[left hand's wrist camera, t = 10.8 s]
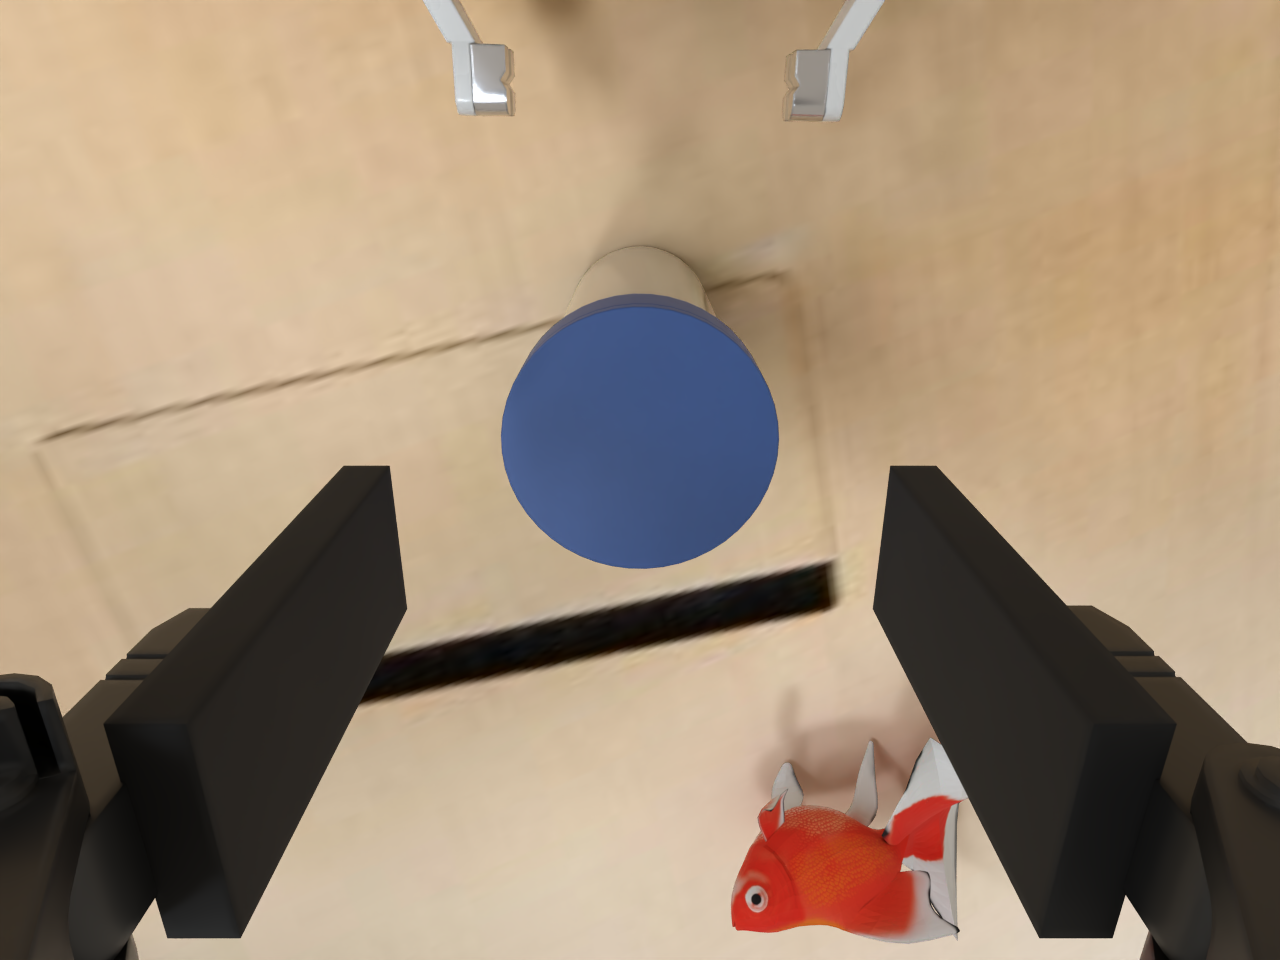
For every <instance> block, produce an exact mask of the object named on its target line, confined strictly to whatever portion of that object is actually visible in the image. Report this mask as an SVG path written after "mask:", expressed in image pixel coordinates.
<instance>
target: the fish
mask: <svg viewBox="0 0 1280 960" xmlns="http://www.w3.org/2000/svg"><path fill="white" fill-rule="evenodd" d="M771 797H772V800H771V801H770V802H769V803H768V804H767V805H766V806H765V807H764V808H763V809H762V810H761V812H760V814H759V816H758V823H759V827H760V829H761V832H760V833H759V834H758V836H757V837H756V839H755V841H754V843H753V844H752V845H751V847H750V848H749V851H748V853H747V855H746V858H745V860H744V862H743V865H742V867H741V869H740V871H739V874H738V876H737V879H736V881H735V885H734V888H733V892H732V899H731V915H732V926H733V927H736V930H747V931H755V932H767V933H770V932H779V931H783V930H787V929H791V928H794V927H799V926H808V925H828V926H833V927H837V928H839V929H841V930H845V931H847V932H850V933H853V934H856V935H859V936H863V937H866V938H870V939H875V940H879V941H884V942H891V943H906V944H910V943H916V942H922V941H929V940H933V939H937V938H941V937H945V936H949V935H954V937H955V938H956V939H957V941H958V936H957V933H958V932H959V931H960V930H959V929H958V927H957V892H956V853H957V816H958V806H959V802H961V801H963V800H965V799H967V798H968V796H967V794H966V792H965V790H964V788H963V786H962V784H961V782H960V780H959V778H958V776H957V774H956V772H955V770H954V768H953V766H952V764H951V762H950V760H949V758H948V756H947V754H946V752H945V750H944V749H943V747H942V745H941V744H939V743H938V742H936V741H935V740H933V739H932V738H930V739H929V740H928V742H927V743H926V745H925V747H924V748H923V750H922V752H921V753H920V755H919V756H918V758H917V760H916V762H915V765H914V768H913V771H912V774H911V776H910V779H909V782H908V785H907V788H906V790H905V792H904V794H903V796H902V798H901V799H900V801H899V803H898V805H897V807H896V809H895V810H894V812H893V814H892V816H891V818H890V820H889V822H888V824H887V826H886V828H885V829H881V830H876V829H871V828H869V827H868V826H869V824H870V823H871V822H872V821H873V819H874V818H875V816H876V812H877V808H878V799H877V788H876V779H875V767H874V745H873V742H872V741H869V743H868V746H867V750H866V753H865V756H864V758H863V761H862V764H861V767H860V771H859V774H858V779H857V784H856V789H855V794H854V798H853V802H852V804H851V806H850V808H849V810H848V811H847V813H846V814H844V813H841V812H839V811H837V810H834V809H830V808H827V807H821V806H810V805H808V806H800V805H801V803H802V801H803V791H802V789H801V787H800V785H799V783H798V781H797V779H796V776H795V774H794V771H793V768H792V765H791V764H790V763H784V764H783V765H782V767H781V768H780V770H779V773H778V775H777V777H776V779H775V782H774V785H773V788H772V795H771ZM902 863H903V864H904V865H905V866H907V867H908V868H910V869H911V870H913V871H905V872H900V870H901V865H902ZM931 903H932V905H933V907H934V908H935V910H936V911H937V913H938V914H939V915H940V916H939V915H938V914H937V913H936V912H935V911H934V909H933V907H932V906H931Z"/></svg>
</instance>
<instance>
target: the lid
mask: <svg viewBox="0 0 1280 960" xmlns="http://www.w3.org/2000/svg"><path fill="white" fill-rule="evenodd" d="M501 443H502V455H503V460H504V466H505V470H506V473H507V476H508V479H509V482H510V485H511V487H512V489H513V491H514V493H515V495H516V497H517V499H518V501H519V502H520V504H521V505H522V507H523V508H524V510H525V511H526V513H527V514H528V515H529V517H530V518H531V519H532V520H533V521H534V522H535V524H536V525H537V526H538V527H539V528H540V529H541V530H542V531H544V532H545V533H546V534H547V535H548V536H549V537H550V538H551V539H553V540H554V541H556V542H557V543H559V544H560V545H562V546H563V547H564V548H566V549H568V550H570V551H572V552H574V553H576V554H577V555H579V556H582V557H584V558H587V559H590V560H592V561H595V562H598V563H602V564H606V565H610V566H615V567H623V568H638V569H647V568H657V567H665V566H670V565H674V564H679V563H682V562H685V561H688V560H691V559H693V558H696V557H698V556H700V555H702V554H704V553H706V552H709V551H711V550H712V549H714V548H715V547H717V546H718V545H720V544H721V543H723V542H725V541H726V540H727V539H728V538H730V537H731V536H732V535H733V534H734V533H735V532H737V531H738V530H739V529H740V528H741V527H742V526H743V525H744V523H745V522H746V521H747V520H748V519H749V518H750V517H751V515H752V514H753V513H754V511H755V510H756V508H757V507H758V506H759V504H760V503H761V501H762V499H763V497H764V495H765V493H766V491H767V489H768V487H769V484H770V482H771V479H772V476H773V474H774V470H775V465H776V461H777V456H778V445H779V431H778V420H777V414H776V409H775V405H774V402H773V399H772V396H771V393H770V390H769V388H768V386H767V384H766V382H765V380H764V378H763V376H762V374H761V372H760V370H759V368H758V366H757V365H756V363H755V361H754V359H753V357H752V355H751V354H750V352H749V351H748V349H747V348H746V347H745V345H744V344H743V342H742V341H741V340H740V339H739V338H738V337H737V336H736V334H735V333H734V332H733V331H732V330H731V329H730V328H729V327H727V326H726V325H725V324H724V323H723V322H721V321H720V320H719V319H718V318H716V317H715V316H713V315H712V314H710V313H708V312H707V311H705V310H703V309H702V308H699V307H697V306H695V305H693V304H690V303H688V302H686V301H682V300H679V299H676V298H672V297H669V296H662V295H655V294H625V295H617V296H612V297H608V298H604V299H600V300H597V301H595V302H592V303H590V304H587V305H585V306H582V307H581V308H579V309H577V310H575V311H573V312H572V313H570V314H568V315H567V316H565V317H564V318H563V319H561V320H560V321H559V322H557V323H556V324H555V325H553V326H552V327H551V328H550V329H549V330H548V331H547V332H546V333H545V334H544V335H543V336H542V337H541V339H540V340H539V341H538V343H537V344H536V345H535V347H534V348H533V349H532V351H531V352H530V354H529V356H528V358H527V359H526V361H525V363H524V365H523V367H522V368H521V370H520V372H519V374H518V376H517V378H516V380H515V381H514V383H513V386H512V388H511V391H510V393H509V396H508V398H507V401H506V406H505V410H504V414H503V420H502V431H501Z"/></svg>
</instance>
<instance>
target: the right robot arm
mask: <svg viewBox="0 0 1280 960" xmlns="http://www.w3.org/2000/svg"><path fill="white" fill-rule="evenodd" d="M884 1H885V0H846V1H845V2H844V4H843V6H842V8H841V9H840V11H839V13H838V14H837V16H836V18H835V19H834V21H833V23H832V24H831V26H830V28H829V29H828V31H827V33H826V35H825V36H824V38H823V40H822V41H821V43H820V45H819V46H818V48H817V50H796V51H794V52H793V54H789V55H788V56H786V67H785V80H784V81H785V83H786V85H787V87H788V88H789V90H788V92H787V93H786V95H785V96H784V97H783V108H782V112H783V121H797V122H837V121H840V118H841V115H842V111H843V107H844V99H845V89H846V79H847V69H848V59H849V52H850V51H852V50H854V49H855V47H856V46H857V44H858V42H859V41H860V39H861V38H862V36H863V34H864V33H865V31H866V30H867V28H868V27H869V25H870V23H871V22H872V20H873V19H874V17H875V15H876V14H877V12H878V11H879V9H880V7H881V6H882V4H883V3H884ZM423 2H424V3H425V5H426V7H427V8H428V10H429V12H430V14H431V15H432V17H433V19H434V21H435V22H436V24H437V26H438V28H439V29H440V31H441V33H442V35H443V36H444V38H445V40H446V41H447V43H449V44H451V45H452V57H453V72H454V88H455V102H456V106H457V110H458V113H459V115H464V116H515V110H516V101H515V92H514V90H513V89H512V87H511V86H510V83H511V82H512V80H513V78H514V76H515V73H514V52H513V51H512V50H511V49H508V47H507V46H506V45H500V44H483V42H482V41H481V39H480V37H479V35H478V33H477V31H476V30H475V28H474V26H473V24H472V22H471V20H470V18H469V17H468V15H467V13H466V11H465V9H464V7H463V6H462V4H461V2H460V0H423Z"/></svg>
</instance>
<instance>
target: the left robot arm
mask: <svg viewBox="0 0 1280 960" xmlns="http://www.w3.org/2000/svg"><path fill="white" fill-rule="evenodd" d="M406 610H407V604H406V596H405V588H404V579H403V571H402V563H401V555H400V547H399V539H398V530H397V522H396V514H395V506H394V498H393V490H392V481H391V473H390V466H343V467H342V468H341V469H340V470H339V472H338V473H337V474H336V475H335V476H334V477H333V478H332V479H331V480H330V481H329V482H328V483H327V484H326V485H325V487H324V488H323V489H322V490H321V491H320V492H319V493H318V494H317V495H316V496H315V497H314V498H313V499H312V500H311V502H310V503H309V504H308V505H307V506H306V507H305V508H304V509H303V510H302V511H301V512H300V513H299V514H298V515H297V517H296V518H295V519H294V520H293V521H292V522H291V523H290V524H289V525H288V526H287V527H286V528H285V529H284V530H283V532H282V533H281V534H280V535H279V536H278V537H277V538H276V539H275V540H274V541H273V542H272V543H271V544H270V545H269V547H268V548H267V549H266V550H265V551H264V552H263V553H262V554H261V555H260V556H259V557H258V558H257V559H256V560H255V562H254V563H253V564H252V565H251V566H250V567H249V568H248V569H247V570H246V571H245V572H244V573H243V574H242V575H241V577H240V578H239V579H238V580H237V581H236V582H235V583H234V584H233V585H232V586H231V587H230V588H229V589H228V590H227V591H226V593H225V594H224V595H223V596H222V597H221V598H220V599H219V600H218V601H217V602H216V603H215V604H214V605H213V606H212V608H189V609H187V610H185V611H183V612H182V613H180V614H178V615H176V616H175V617H173V618H171V619H169V620H168V621H166V622H164V623H162V624H161V625H159V626H157V627H155V628H154V629H152V630H151V631H150V632H149V633H148V634H147V635H146V636H145V637H144V638H143V639H142V640H141V641H140V642H139V643H138V644H137V645H136V646H135V647H134V648H133V649H132V650H131V651H130V652H129V653H127V658H126V659H121V660H120V661H119V662H118V663H117V664H116V665H115V666H114V667H113V668H112V669H111V670H110V671H109V672H108V673H107V674H106V679H105V680H100V681H99V682H98V683H97V684H96V685H95V686H94V687H93V688H92V689H91V690H90V691H89V692H88V693H87V694H86V695H85V696H84V697H83V698H82V699H81V700H80V701H79V702H78V703H77V704H76V705H75V706H74V707H73V708H72V709H71V710H70V711H69V712H68V713H67V714H66V715H65V716H64V717H63V718H62V715H61V712H60V709H59V706H58V703H57V699H56V696H55V693H54V690H53V687H52V684H50V683H48V682H47V681H45V680H44V679H42V678H41V677H39V676H34V675H25V674H16V673H14V674H5V675H0V960H139V959H138V953H137V948H136V945H135V941H134V938H133V935H132V933H133V931H134V930H135V928H136V926H137V925H138V923H139V922H140V920H141V919H142V917H143V916H144V914H145V913H146V911H147V909H148V908H149V906H150V905H151V903H152V902H153V900H154V899H155V898H156V902H157V905H158V908H159V912H160V915H161V918H162V922H163V925H164V928H165V931H166V935H167V938H241V936H242V934H243V932H244V930H245V928H246V926H247V924H248V922H249V921H250V919H251V917H252V915H253V913H254V911H255V909H256V907H257V905H258V903H259V901H260V899H261V897H262V895H263V893H264V891H265V889H266V887H267V885H268V883H269V881H270V879H271V877H272V875H273V873H274V871H275V869H276V867H277V865H278V863H279V861H280V859H281V857H282V855H283V853H284V851H285V849H286V847H287V845H288V843H289V841H290V839H291V837H292V835H293V834H294V832H295V830H296V828H297V826H298V824H299V822H300V820H301V818H302V816H303V814H304V812H305V810H306V808H307V806H308V804H309V802H310V800H311V798H312V796H313V794H314V792H315V790H316V788H317V786H318V784H319V782H320V780H321V778H322V776H323V774H324V772H325V770H326V768H327V766H328V764H329V762H330V760H331V758H332V756H333V754H334V752H335V750H336V749H337V747H338V745H339V743H340V741H341V739H342V737H343V735H344V733H345V731H346V729H347V727H348V725H349V723H350V721H351V719H352V717H353V715H354V713H355V711H356V709H357V707H358V705H359V703H360V701H361V699H362V697H363V695H364V693H365V691H366V689H367V687H368V685H369V683H370V681H371V679H372V677H373V675H374V673H375V671H376V669H377V667H378V665H379V664H380V662H381V660H382V658H383V656H384V654H385V652H386V650H387V648H388V646H389V644H390V642H391V640H392V638H393V636H394V634H395V632H396V630H397V628H398V626H399V624H400V622H401V620H402V618H403V616H404V614H405V612H406ZM873 610H874V612H875V614H876V616H877V618H878V620H879V622H880V624H881V626H882V628H883V630H884V632H885V634H886V636H887V638H888V640H889V642H890V644H891V646H892V648H893V650H894V652H895V654H896V656H897V658H898V660H899V662H900V664H901V665H902V667H903V669H904V671H905V673H906V675H907V677H908V679H909V681H910V683H911V685H912V687H913V689H914V691H915V693H916V695H917V697H918V699H919V701H920V703H921V705H922V707H923V709H924V711H925V713H926V715H927V717H928V719H929V721H930V723H931V725H932V727H933V729H934V731H935V733H936V735H937V737H938V739H939V741H940V743H941V745H942V747H943V749H944V750H945V752H946V754H947V756H948V758H949V760H950V762H951V764H952V766H953V768H954V770H955V772H956V774H957V776H958V778H959V780H960V782H961V784H962V786H963V788H964V790H965V792H966V794H967V796H968V798H969V800H970V802H971V804H972V806H973V808H974V810H975V812H976V814H977V816H978V818H979V820H980V822H981V824H982V826H983V828H984V830H985V832H986V834H987V835H988V837H989V839H990V841H991V843H992V845H993V847H994V849H995V851H996V853H997V855H998V857H999V859H1000V861H1001V863H1002V865H1003V867H1004V869H1005V871H1006V873H1007V875H1008V877H1009V879H1010V881H1011V883H1012V885H1013V887H1014V889H1015V891H1016V893H1017V895H1018V897H1019V899H1020V901H1021V903H1022V905H1023V907H1024V909H1025V911H1026V913H1027V915H1028V917H1029V919H1030V921H1031V922H1032V924H1033V926H1034V928H1035V930H1036V932H1037V934H1038V936H1039V938H1113V935H1114V931H1115V928H1116V925H1117V922H1118V918H1119V915H1120V912H1121V908H1122V905H1123V902H1124V898H1125V895H1126V896H1127V897H1128V899H1129V900H1130V902H1131V904H1132V905H1133V907H1134V908H1135V910H1136V911H1137V913H1138V914H1139V916H1140V917H1141V919H1142V920H1143V922H1144V923H1145V925H1146V927H1147V928H1148V930H1149V932H1148V935H1147V938H1146V941H1145V945H1144V948H1143V951H1142V954H1141V957H1140V960H1280V749H1279V748H1276V747H1272V746H1266V745H1259V744H1252V743H1247V742H1246V741H1245V740H1244V739H1243V738H1242V737H1241V736H1240V735H1239V734H1238V733H1237V732H1236V731H1235V730H1234V729H1233V728H1232V727H1231V726H1230V725H1229V724H1228V723H1227V722H1226V721H1225V720H1224V719H1223V718H1222V717H1221V716H1220V715H1219V714H1218V713H1217V712H1216V711H1215V710H1214V709H1213V708H1211V707H1210V706H1209V705H1208V704H1207V703H1206V702H1205V701H1204V700H1203V699H1202V698H1201V697H1200V696H1199V695H1198V694H1197V693H1196V692H1195V691H1194V690H1193V689H1192V688H1191V687H1190V686H1189V685H1188V684H1187V683H1186V682H1185V681H1184V680H1183V679H1182V678H1181V677H1175V671H1174V670H1173V669H1172V668H1171V667H1170V666H1169V665H1168V664H1166V663H1165V662H1164V661H1163V660H1162V659H1161V658H1160V657H1159V656H1154V651H1153V650H1152V649H1151V648H1150V647H1149V646H1148V645H1147V644H1146V643H1145V642H1144V641H1143V640H1142V639H1141V638H1140V637H1139V636H1138V635H1137V634H1136V633H1135V632H1134V631H1133V630H1132V629H1131V628H1130V627H1129V626H1127V625H1125V624H1123V623H1121V622H1120V621H1118V620H1116V619H1114V618H1113V617H1111V616H1109V615H1107V614H1106V613H1104V612H1102V611H1100V610H1099V609H1097V608H1095V607H1093V606H1067V605H1066V604H1065V603H1064V602H1063V601H1062V600H1061V599H1060V598H1059V597H1058V596H1057V595H1056V594H1055V593H1054V591H1053V590H1052V589H1051V588H1050V587H1049V586H1048V585H1047V584H1046V583H1045V582H1044V581H1043V580H1042V579H1041V578H1040V577H1039V575H1038V574H1037V573H1036V572H1035V571H1034V570H1033V569H1032V568H1031V567H1030V566H1029V565H1028V564H1027V563H1026V562H1025V560H1024V559H1023V558H1022V557H1021V556H1020V555H1019V554H1018V553H1017V552H1016V551H1015V550H1014V549H1013V548H1012V547H1011V545H1010V544H1009V543H1008V542H1007V541H1006V540H1005V539H1004V538H1003V537H1002V536H1001V535H1000V534H999V533H998V532H997V530H996V529H995V528H994V527H993V526H992V525H991V524H990V523H989V522H988V521H987V520H986V519H985V518H984V517H983V515H982V514H981V513H980V512H979V511H978V510H977V509H976V508H975V507H974V506H973V505H972V504H971V503H970V502H969V500H968V499H967V498H966V497H965V496H964V495H963V494H962V493H961V492H960V491H959V490H958V489H957V488H956V487H955V485H954V484H953V483H952V482H951V481H950V480H949V479H948V478H947V477H946V476H945V475H944V474H943V473H942V472H941V470H940V469H939V468H938V467H937V466H890V473H889V481H888V490H887V498H886V506H885V514H884V522H883V530H882V539H881V547H880V555H879V563H878V571H877V579H876V588H875V596H874V604H873Z"/></svg>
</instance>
